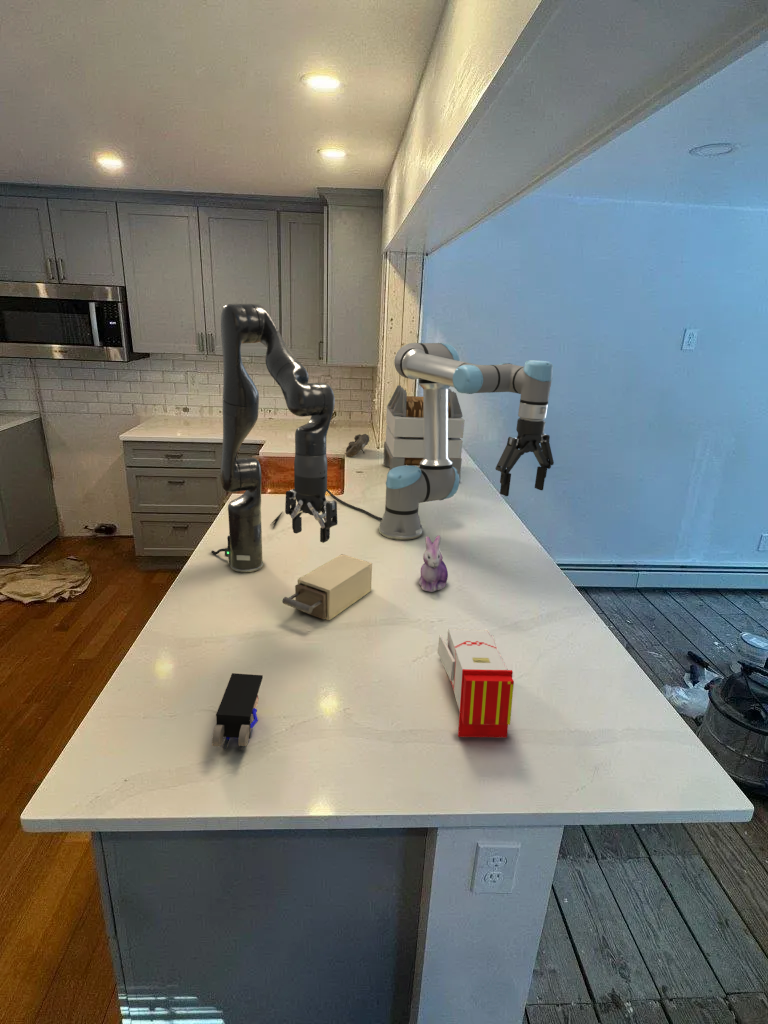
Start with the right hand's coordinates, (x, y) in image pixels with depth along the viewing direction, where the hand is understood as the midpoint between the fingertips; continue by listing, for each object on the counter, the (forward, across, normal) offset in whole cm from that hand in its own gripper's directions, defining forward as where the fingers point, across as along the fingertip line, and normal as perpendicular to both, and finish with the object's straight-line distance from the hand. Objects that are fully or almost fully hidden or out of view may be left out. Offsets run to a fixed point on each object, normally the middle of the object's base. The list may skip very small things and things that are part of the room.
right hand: (521, 492), depth 163 cm
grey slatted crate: (+27, +38, +104) cm, 114 cm away
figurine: (+26, -26, +5) cm, 37 cm away
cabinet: (+27, -54, +10) cm, 61 cm away
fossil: (+27, +29, +151) cm, 156 cm away
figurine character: (+26, -92, -27) cm, 100 cm away
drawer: (+26, -59, +8) cm, 65 cm away
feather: (+27, -44, +77) cm, 92 cm away
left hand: (+4, -65, +3) cm, 65 cm away
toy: (+26, -47, -38) cm, 66 cm away
